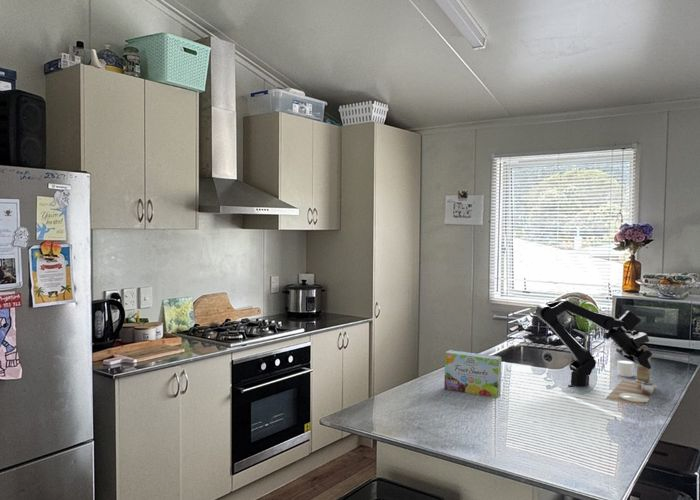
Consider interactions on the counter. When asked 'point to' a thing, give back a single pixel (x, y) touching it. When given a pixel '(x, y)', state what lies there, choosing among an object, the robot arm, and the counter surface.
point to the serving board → (627, 388)
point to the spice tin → (647, 387)
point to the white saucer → (633, 397)
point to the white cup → (625, 368)
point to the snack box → (472, 373)
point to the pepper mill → (643, 371)
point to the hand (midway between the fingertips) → (647, 367)
